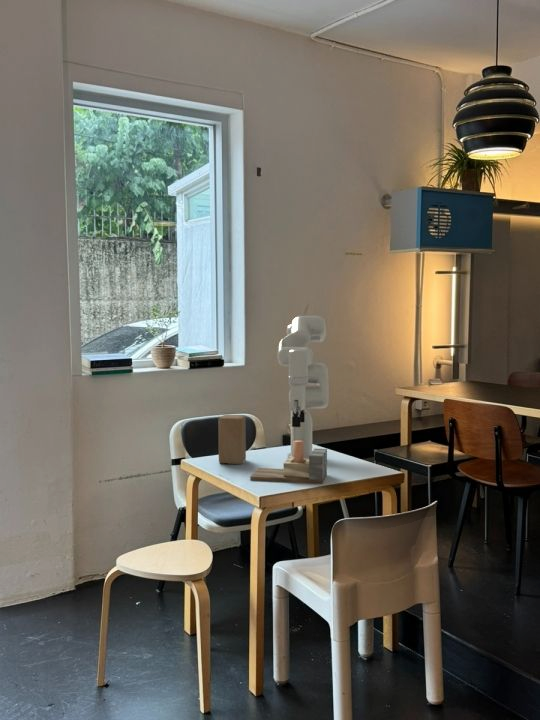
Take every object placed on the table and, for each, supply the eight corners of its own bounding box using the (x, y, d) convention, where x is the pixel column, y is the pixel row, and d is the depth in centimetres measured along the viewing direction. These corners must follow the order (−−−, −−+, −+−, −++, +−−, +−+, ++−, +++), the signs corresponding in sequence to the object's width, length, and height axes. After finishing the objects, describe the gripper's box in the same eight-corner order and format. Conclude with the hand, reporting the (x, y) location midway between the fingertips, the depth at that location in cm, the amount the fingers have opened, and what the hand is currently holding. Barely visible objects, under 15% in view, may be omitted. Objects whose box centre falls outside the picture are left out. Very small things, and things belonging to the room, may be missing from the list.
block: (240, 465, 293) (240, 418, 292) (218, 464, 295) (217, 417, 294) (246, 459, 303) (246, 414, 301) (224, 458, 305) (223, 414, 303)
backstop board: (258, 471, 281) (258, 446, 281) (326, 474, 276) (326, 448, 275) (250, 480, 268) (250, 453, 267) (322, 483, 262) (322, 456, 261)
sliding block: (288, 470, 277) (288, 457, 276) (313, 471, 275) (313, 458, 274) (283, 476, 267) (283, 463, 267) (309, 477, 265) (309, 464, 264)
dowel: (294, 472, 273) (294, 440, 272) (304, 473, 272) (304, 440, 271) (292, 475, 269) (292, 442, 268) (302, 475, 269) (302, 442, 267)
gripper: (292, 377, 277) (292, 420, 279) (284, 383, 260) (284, 428, 262) (311, 378, 276) (311, 420, 277) (304, 384, 259) (304, 429, 260)
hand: (298, 424), depth 270 cm, fingers open, 9 cm apart
